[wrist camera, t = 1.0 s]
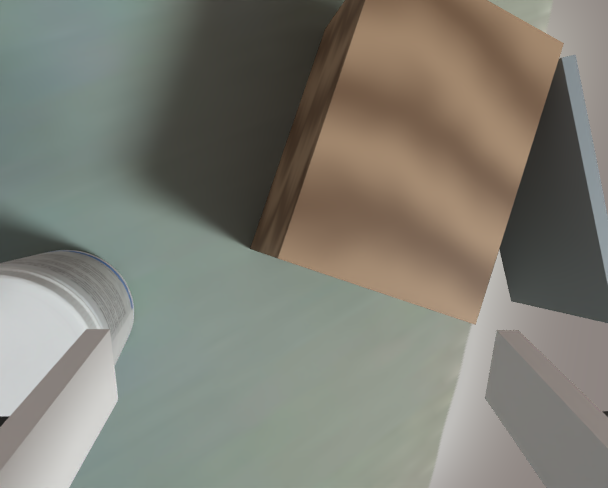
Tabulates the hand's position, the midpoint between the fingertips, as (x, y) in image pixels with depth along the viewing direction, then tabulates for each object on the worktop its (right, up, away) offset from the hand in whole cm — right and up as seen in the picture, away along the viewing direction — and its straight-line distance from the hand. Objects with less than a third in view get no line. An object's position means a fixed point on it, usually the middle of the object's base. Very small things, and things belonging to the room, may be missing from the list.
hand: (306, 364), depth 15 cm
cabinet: (+5, +11, +24) cm, 27 cm away
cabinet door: (+19, +8, +28) cm, 34 cm away
